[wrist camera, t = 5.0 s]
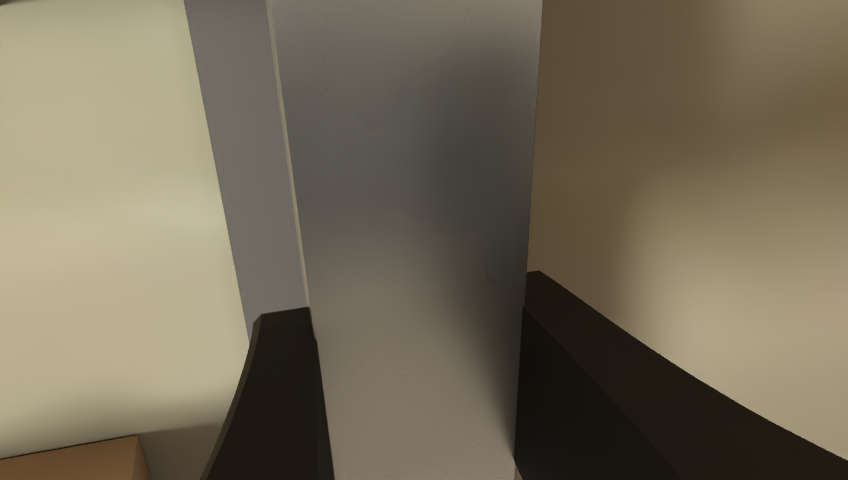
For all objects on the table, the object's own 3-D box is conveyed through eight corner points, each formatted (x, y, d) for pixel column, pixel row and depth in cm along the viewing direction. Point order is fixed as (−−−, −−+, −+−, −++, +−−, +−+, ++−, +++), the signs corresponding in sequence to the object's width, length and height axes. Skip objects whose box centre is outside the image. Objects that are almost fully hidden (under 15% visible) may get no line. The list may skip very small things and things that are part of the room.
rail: (464, 599, 15) (500, 720, 13) (349, 626, 15) (369, 755, 13) (471, -434, 7) (572, -523, 5) (205, -441, 6) (199, -540, 4)
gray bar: (477, 529, 18) (485, 550, 17) (294, 569, 17) (297, 593, 17) (498, -489, 8) (517, -506, 8) (91, -505, 8) (83, -524, 7)
